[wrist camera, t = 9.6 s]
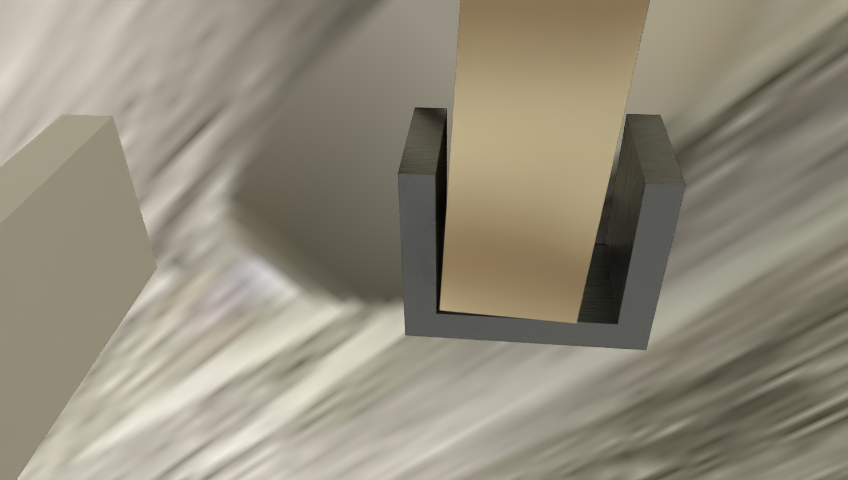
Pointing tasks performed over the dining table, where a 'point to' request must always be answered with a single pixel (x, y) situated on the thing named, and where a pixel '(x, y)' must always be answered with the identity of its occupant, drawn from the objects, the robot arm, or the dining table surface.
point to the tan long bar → (533, 150)
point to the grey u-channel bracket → (610, 264)
